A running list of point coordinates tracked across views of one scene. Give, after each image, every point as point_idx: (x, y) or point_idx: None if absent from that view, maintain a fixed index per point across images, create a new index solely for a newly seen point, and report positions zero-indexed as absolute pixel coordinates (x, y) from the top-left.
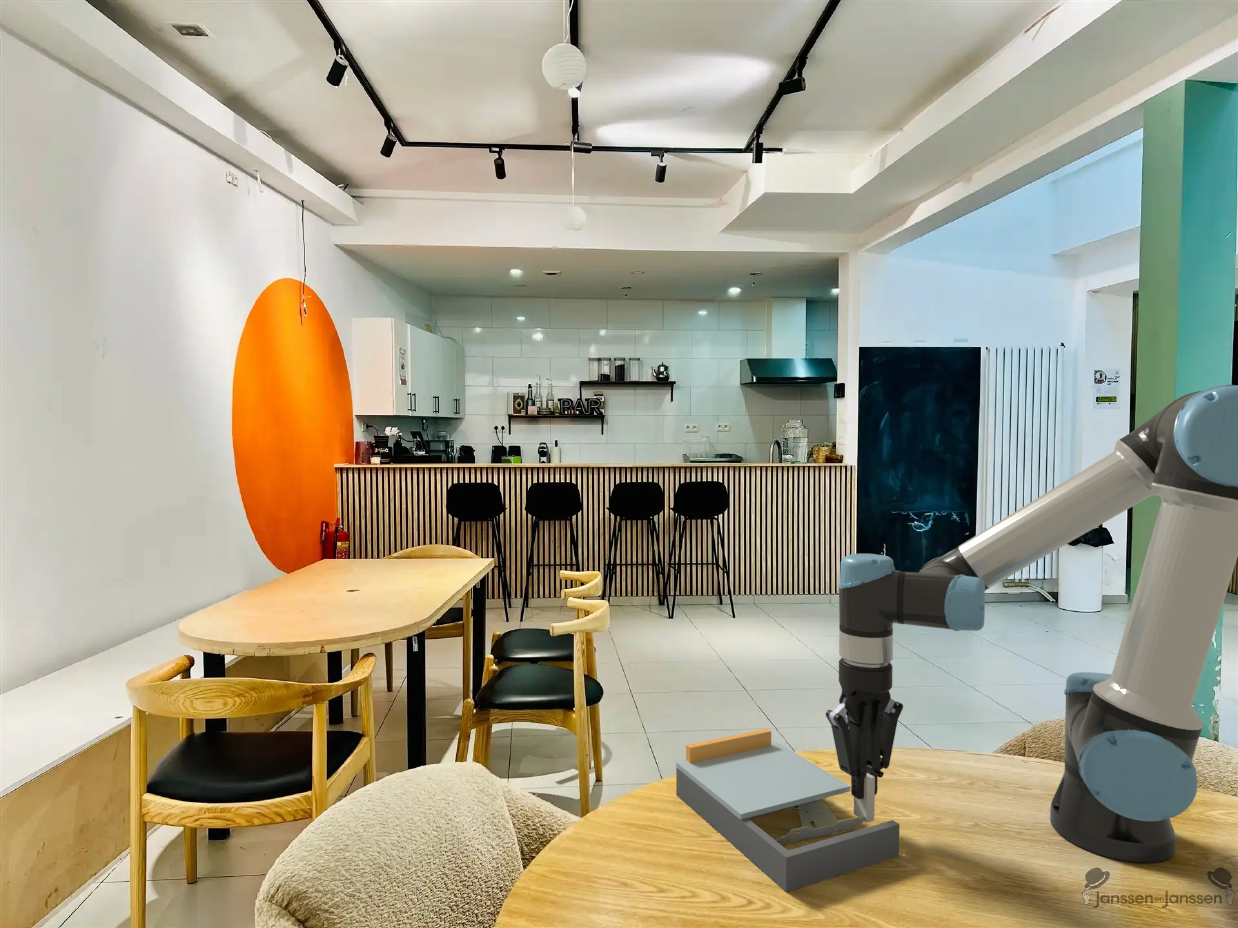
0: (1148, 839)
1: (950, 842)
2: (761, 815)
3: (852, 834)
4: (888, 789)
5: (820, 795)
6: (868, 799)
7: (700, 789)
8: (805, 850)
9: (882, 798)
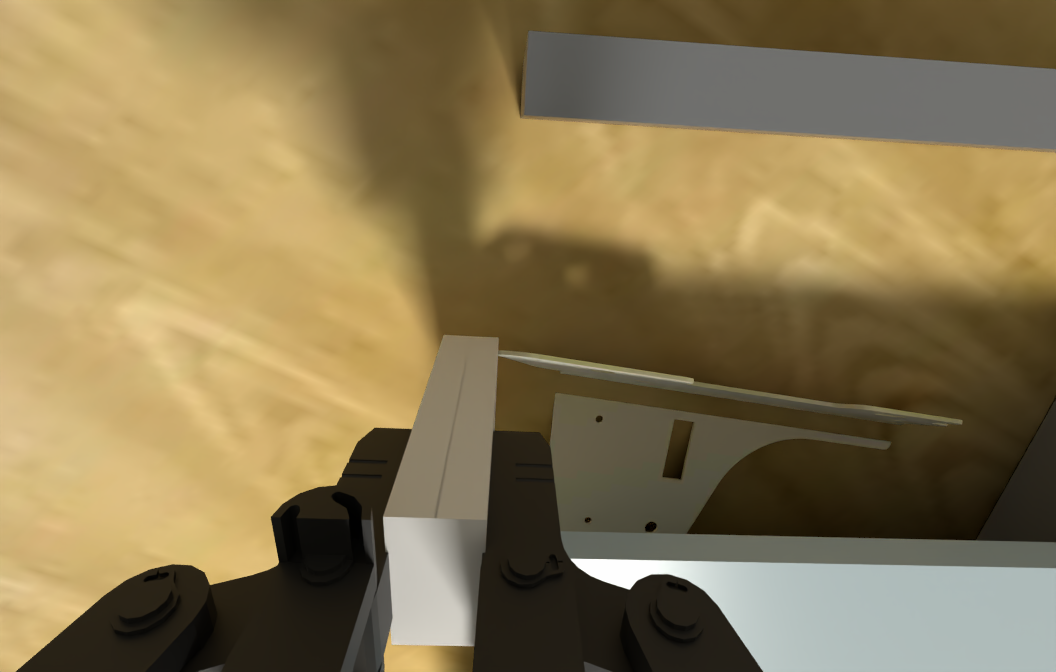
0: None
1: (118, 10)
2: None
3: (983, 109)
4: (125, 532)
5: (725, 551)
6: (480, 403)
7: None
8: None
9: (205, 492)
